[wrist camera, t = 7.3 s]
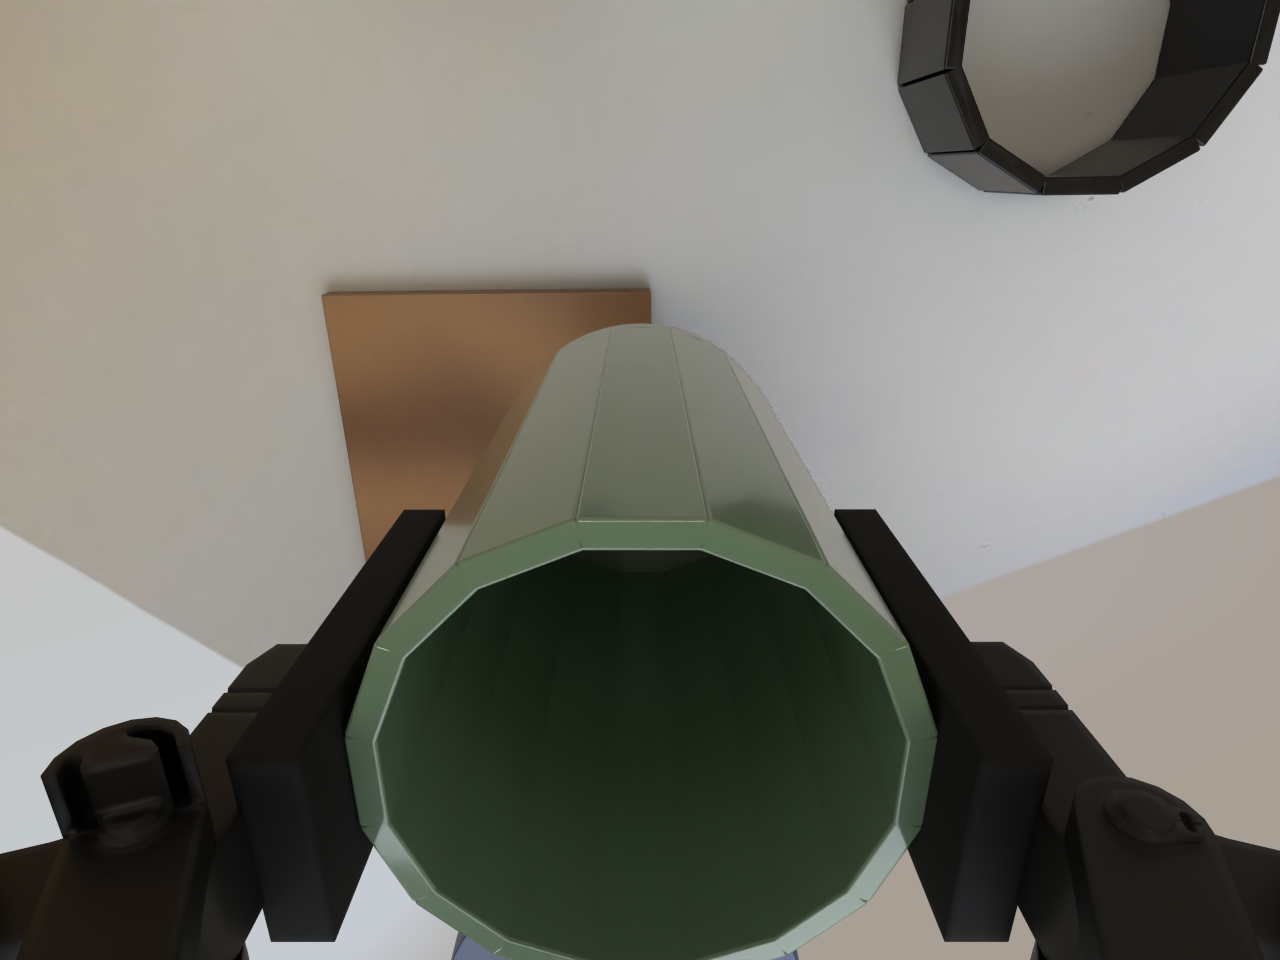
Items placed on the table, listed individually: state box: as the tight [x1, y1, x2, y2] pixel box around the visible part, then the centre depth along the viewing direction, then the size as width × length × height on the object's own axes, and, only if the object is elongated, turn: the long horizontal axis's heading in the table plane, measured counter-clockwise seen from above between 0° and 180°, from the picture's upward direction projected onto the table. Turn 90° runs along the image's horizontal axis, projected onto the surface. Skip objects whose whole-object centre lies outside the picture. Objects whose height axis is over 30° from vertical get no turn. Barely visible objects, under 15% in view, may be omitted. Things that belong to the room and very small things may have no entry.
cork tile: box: [322, 289, 651, 562], centre depth 35 cm, size 14×14×1 cm
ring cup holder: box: [898, 0, 1280, 195], centre depth 24 cm, size 12×12×10 cm
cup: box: [344, 323, 938, 960], centre depth 15 cm, size 7×7×12 cm
